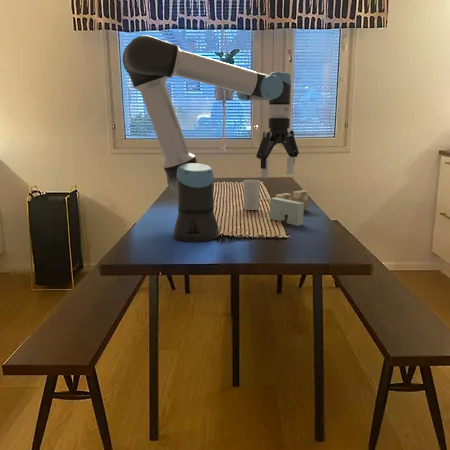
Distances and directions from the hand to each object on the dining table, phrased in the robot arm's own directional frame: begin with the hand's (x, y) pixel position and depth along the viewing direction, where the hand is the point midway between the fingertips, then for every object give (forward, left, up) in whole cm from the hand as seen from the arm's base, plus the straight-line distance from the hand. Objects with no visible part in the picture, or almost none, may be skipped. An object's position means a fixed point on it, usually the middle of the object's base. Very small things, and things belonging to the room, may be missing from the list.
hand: (277, 175), depth 172 cm
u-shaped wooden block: (+13, +4, -17) cm, 21 cm away
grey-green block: (0, -5, -17) cm, 17 cm away
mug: (+6, +20, -17) cm, 27 cm away
